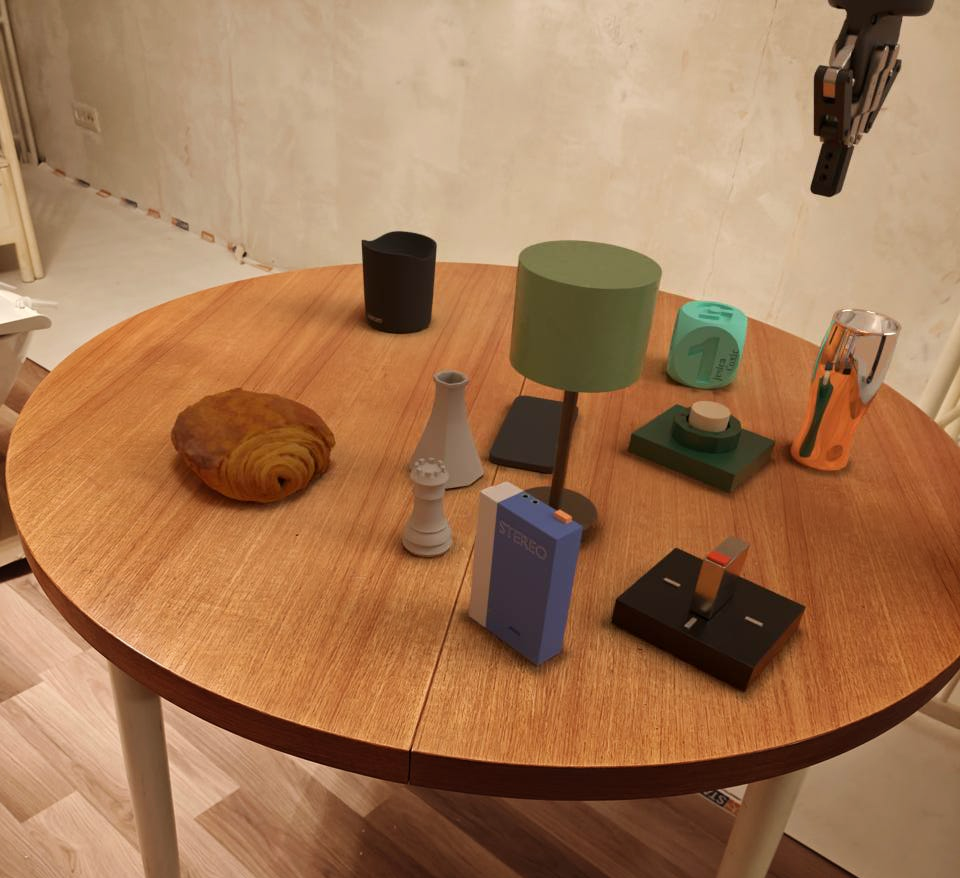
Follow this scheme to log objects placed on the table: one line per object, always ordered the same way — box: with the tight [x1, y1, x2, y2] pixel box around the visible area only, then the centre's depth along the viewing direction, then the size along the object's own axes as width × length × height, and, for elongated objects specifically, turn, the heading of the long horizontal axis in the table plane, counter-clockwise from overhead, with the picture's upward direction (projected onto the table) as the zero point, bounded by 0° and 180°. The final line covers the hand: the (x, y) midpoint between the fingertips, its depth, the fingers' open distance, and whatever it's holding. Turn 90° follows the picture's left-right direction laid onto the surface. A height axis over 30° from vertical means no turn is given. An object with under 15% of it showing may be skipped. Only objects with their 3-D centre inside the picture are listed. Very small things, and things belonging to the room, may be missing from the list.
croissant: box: [170, 387, 337, 504], centre depth 84 cm, size 14×16×8 cm
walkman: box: [468, 480, 583, 667], centre depth 66 cm, size 8×3×12 cm, turn 43°
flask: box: [407, 369, 485, 490], centre depth 85 cm, size 7×7×10 cm
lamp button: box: [688, 400, 731, 432], centre depth 92 cm, size 4×4×2 cm
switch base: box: [627, 403, 777, 494], centre depth 93 cm, size 12×10×4 cm
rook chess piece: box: [401, 458, 453, 558], centre depth 76 cm, size 4×4×8 cm
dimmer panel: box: [610, 547, 807, 693], centre depth 72 cm, size 12×10×3 cm
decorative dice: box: [666, 300, 748, 390], centre depth 108 cm, size 8×8×8 cm
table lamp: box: [508, 239, 663, 544], centre depth 75 cm, size 11×11×24 cm
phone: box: [488, 395, 579, 474], centre depth 95 cm, size 7×1×15 cm
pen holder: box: [360, 230, 438, 334], centre depth 114 cm, size 9×9×10 cm
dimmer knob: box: [689, 534, 751, 619], centre depth 69 cm, size 4×2×5 cm, turn 141°
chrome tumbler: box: [789, 308, 902, 472], centre depth 91 cm, size 7×7×15 cm
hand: (824, 193), depth 74 cm, fingers closed
